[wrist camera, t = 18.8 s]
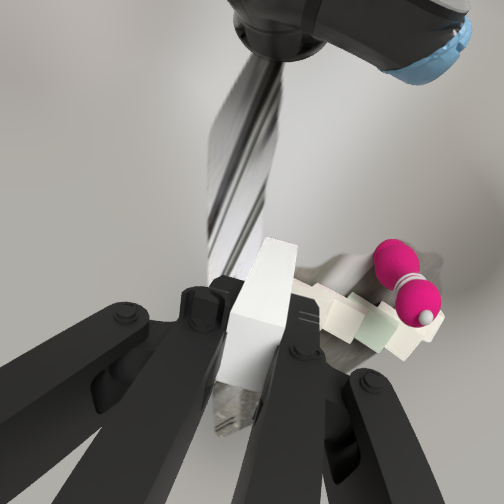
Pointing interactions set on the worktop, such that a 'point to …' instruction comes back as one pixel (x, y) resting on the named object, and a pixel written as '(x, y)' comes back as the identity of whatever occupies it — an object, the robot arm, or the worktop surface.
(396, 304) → the pepper mill
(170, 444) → the robot arm
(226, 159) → the worktop surface
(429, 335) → the tile
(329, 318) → the tile
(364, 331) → the tile
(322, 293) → the tile
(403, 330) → the tile
